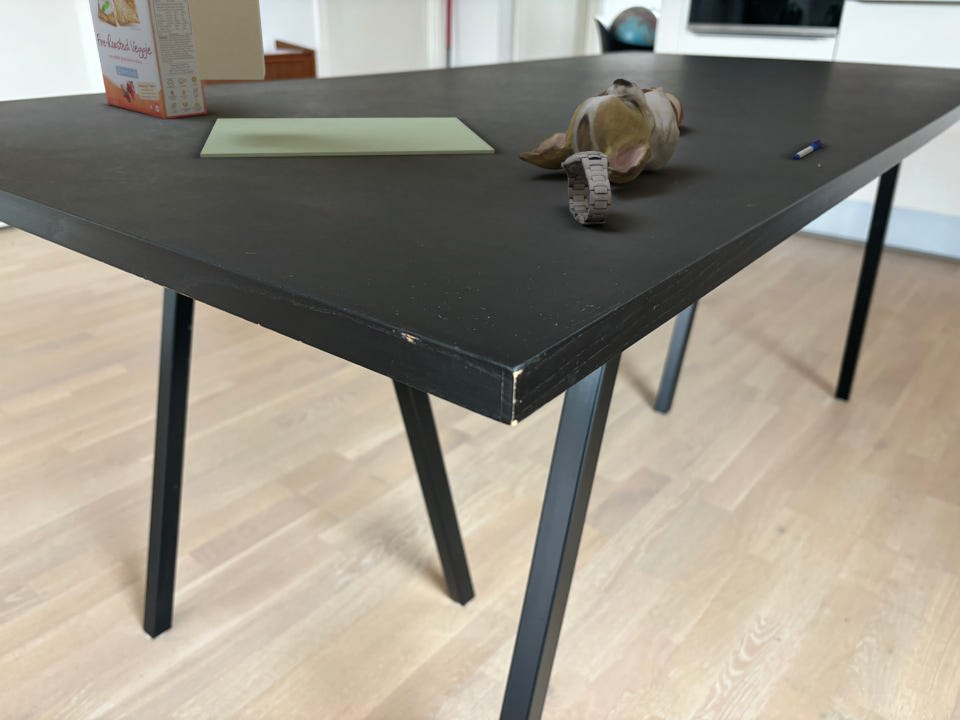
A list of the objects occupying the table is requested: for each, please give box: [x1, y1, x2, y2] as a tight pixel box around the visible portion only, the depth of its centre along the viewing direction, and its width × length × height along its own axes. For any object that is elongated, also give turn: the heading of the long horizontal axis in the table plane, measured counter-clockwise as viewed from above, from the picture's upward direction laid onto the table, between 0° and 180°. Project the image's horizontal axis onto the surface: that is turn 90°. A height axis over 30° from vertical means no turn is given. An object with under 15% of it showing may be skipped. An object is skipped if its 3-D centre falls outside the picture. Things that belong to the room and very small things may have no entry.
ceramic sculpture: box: [517, 78, 681, 184], centre depth 67 cm, size 11×9×15 cm
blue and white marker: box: [792, 139, 823, 160], centre depth 83 cm, size 10×1×1 cm, turn 147°
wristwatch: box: [562, 151, 612, 226], centre depth 55 cm, size 4×6×5 cm, turn 8°
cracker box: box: [88, 0, 208, 120], centre depth 90 cm, size 14×6×21 cm, turn 49°
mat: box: [199, 117, 495, 159], centre depth 83 cm, size 28×20×1 cm
